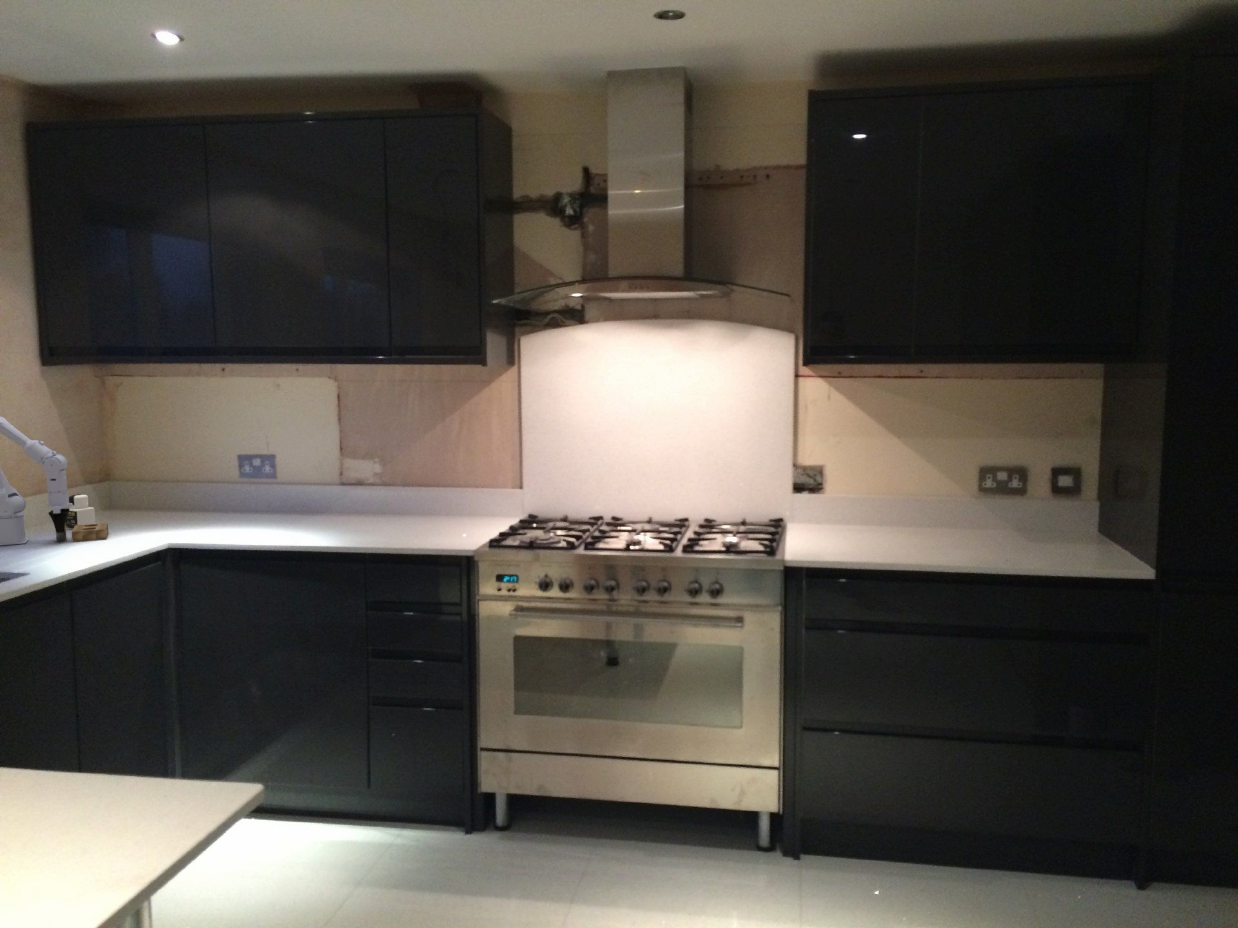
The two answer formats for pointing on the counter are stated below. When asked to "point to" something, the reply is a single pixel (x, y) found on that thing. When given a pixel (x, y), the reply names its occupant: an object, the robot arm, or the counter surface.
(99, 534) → the hole block
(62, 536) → the steel pin
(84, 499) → the medicine bottle
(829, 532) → the counter surface
